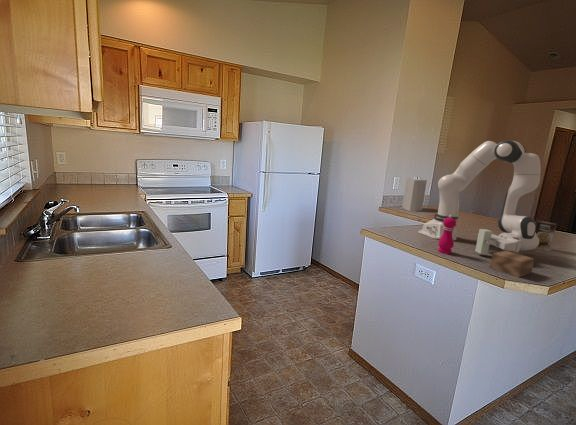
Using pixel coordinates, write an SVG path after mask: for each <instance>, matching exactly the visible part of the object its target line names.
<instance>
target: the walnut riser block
mask: <svg viewBox="0 0 576 425" xmlns="http://www.w3.org/2000/svg"><path fill="white" fill-rule="evenodd" d="M534 262H535V258H533V257H530V256H526V255H523V254H521V253H520V254H519V253H517V252H513V251H507V250H502V251H497V252H493V253H492V255H491V259H490V264H489V268H490V269H491V270H494V271H495V270H496V271H497V272H501V271H502V272H501V273H504V272H505V274H507V273H508V274H507V275H510V274H511V276H513V275H514V276H513V277H516V276H517V278H521V276H522V277H525V276H527V274H528V275H531V274H532V271H533V269H534V268H533V267H534V264H535V263H534ZM524 275H525V276H524Z"/></svg>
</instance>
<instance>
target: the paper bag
mask: <svg viewBox="0 0 576 425" xmlns="http://www.w3.org/2000/svg"><path fill="white" fill-rule="evenodd" d="M427 181H428V180H427V179H420V178H412V177H411V178H410V177H406V181H405V187H404V188H405V189H404V193H403V194H404V195H403V201H402V208H403V209H405V211H409V212H420V211H421V212H422V211H423V207H424V200H425V196H426V189H427V187H426V186H427Z"/></svg>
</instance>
